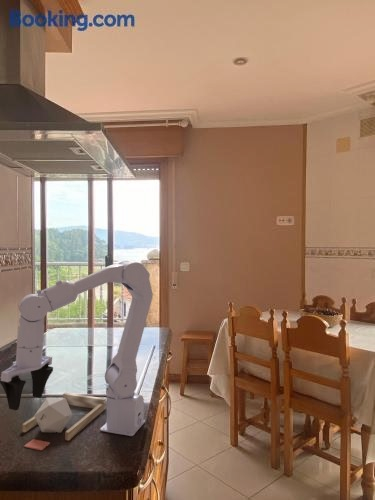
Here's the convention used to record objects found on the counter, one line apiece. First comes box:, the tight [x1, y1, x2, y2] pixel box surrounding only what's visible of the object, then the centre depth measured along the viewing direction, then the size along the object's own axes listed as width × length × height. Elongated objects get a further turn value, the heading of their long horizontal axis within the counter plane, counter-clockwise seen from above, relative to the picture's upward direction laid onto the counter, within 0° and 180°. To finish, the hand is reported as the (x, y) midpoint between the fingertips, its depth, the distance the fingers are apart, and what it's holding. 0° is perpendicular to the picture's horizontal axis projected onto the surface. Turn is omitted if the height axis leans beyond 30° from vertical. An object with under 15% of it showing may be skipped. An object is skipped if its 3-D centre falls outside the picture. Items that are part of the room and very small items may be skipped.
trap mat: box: [23, 438, 51, 451], centre depth 86 cm, size 5×3×1 cm, turn 73°
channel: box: [21, 392, 107, 441], centre depth 98 cm, size 14×18×3 cm
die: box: [33, 397, 73, 434], centre depth 93 cm, size 8×9×10 cm
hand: (25, 402), depth 84 cm, fingers open, 7 cm apart
